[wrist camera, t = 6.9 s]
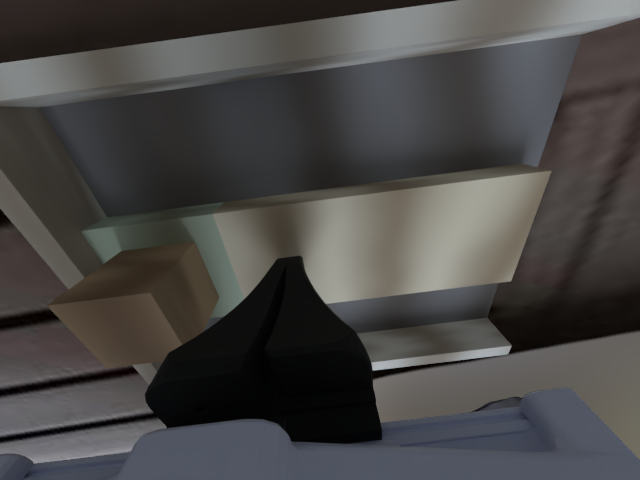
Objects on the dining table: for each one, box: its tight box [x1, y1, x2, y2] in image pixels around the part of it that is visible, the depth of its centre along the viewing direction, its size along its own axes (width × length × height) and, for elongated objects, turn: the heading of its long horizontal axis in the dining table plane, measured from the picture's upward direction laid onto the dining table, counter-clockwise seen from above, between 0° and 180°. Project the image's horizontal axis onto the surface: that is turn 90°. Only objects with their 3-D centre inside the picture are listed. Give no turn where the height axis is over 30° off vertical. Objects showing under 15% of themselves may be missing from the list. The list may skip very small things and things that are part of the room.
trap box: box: [0, 0, 640, 385], centre depth 14 cm, size 26×20×3 cm
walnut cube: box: [47, 242, 219, 368], centre depth 11 cm, size 4×4×4 cm
